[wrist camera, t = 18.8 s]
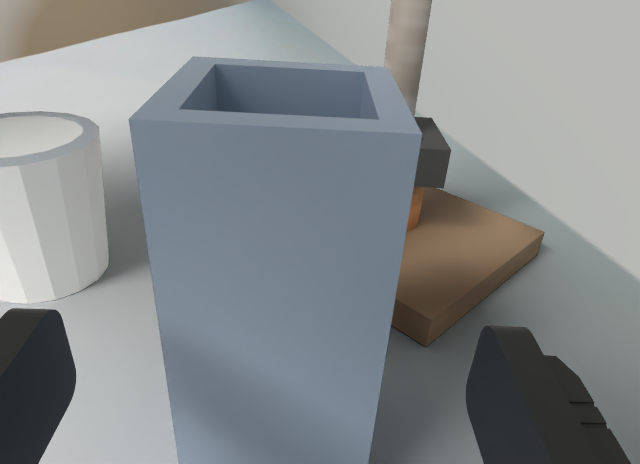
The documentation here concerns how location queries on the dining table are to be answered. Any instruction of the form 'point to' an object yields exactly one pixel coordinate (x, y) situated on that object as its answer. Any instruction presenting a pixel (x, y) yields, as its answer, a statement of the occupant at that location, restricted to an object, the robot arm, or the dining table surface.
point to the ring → (431, 156)
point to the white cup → (50, 206)
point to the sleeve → (275, 252)
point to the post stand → (445, 218)
